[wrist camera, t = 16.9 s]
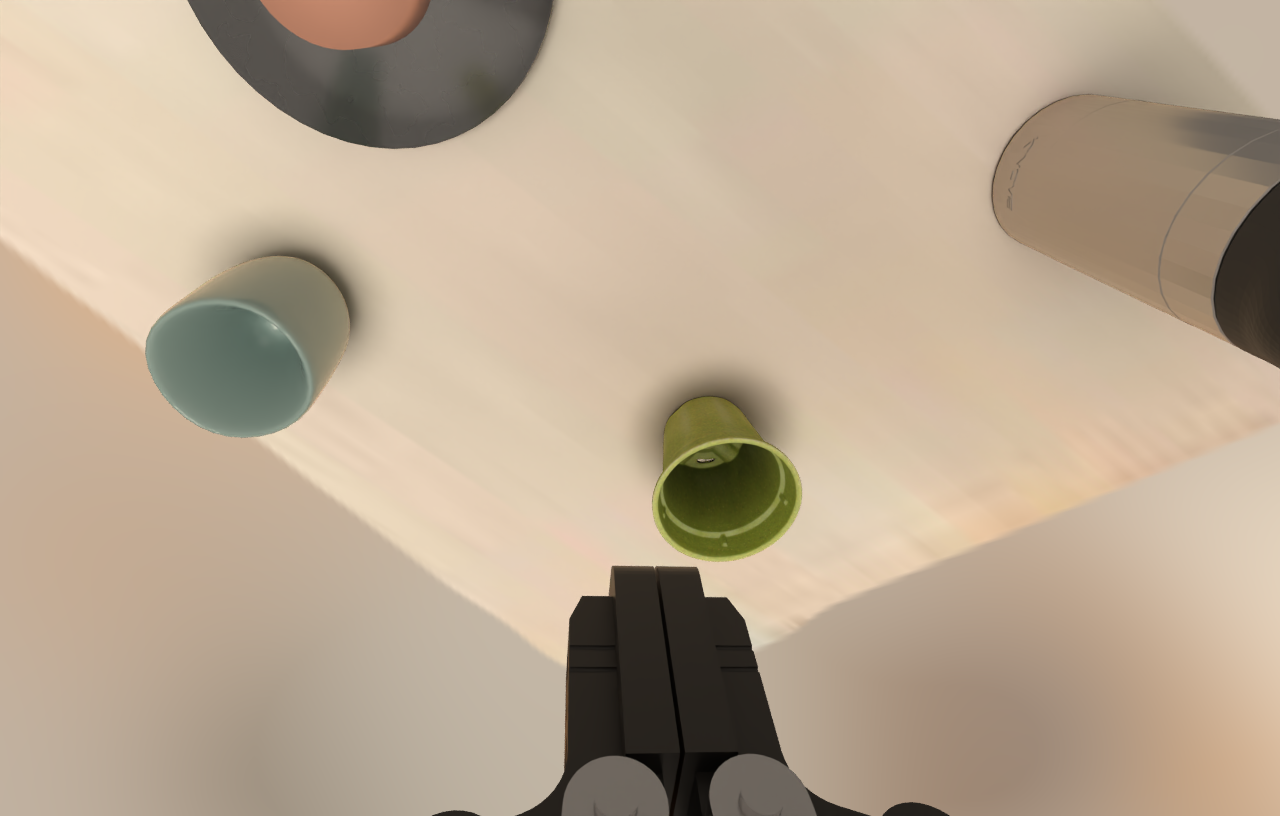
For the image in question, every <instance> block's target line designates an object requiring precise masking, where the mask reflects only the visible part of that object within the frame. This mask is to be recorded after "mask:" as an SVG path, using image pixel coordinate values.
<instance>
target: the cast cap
mask: <svg viewBox="0 0 1280 816" xmlns="http://www.w3.org/2000/svg"><path fill="white" fill-rule="evenodd" d="M260 1H261V2H262V4H263V5H264V6H265V7H266V8H267V10H268V11H269V12H270V13H271V14H272V15H273V16H274V17H275V18H276V19H277V20H278V21H279V22H280V23H281V24H282V25H283V26H284V27H286V28H287V29H288V30H289V31H291V32H292V33H294V34H295V35H297V36H298V37H300V38H302V39H304V40H306V41H308V42H310V43H313V44H315V45H318V46H321V47H325V48H330V49H337V50H353V49H362V48H370V47H378V46H384V45H389V44H392V43H394V42H397V41H399V40H401V39H402V38H404V37H406V36H407V35H408V34H410V33H411V32H412V31H413V30H414V29H415V28H416V27H417V26H418V25H419V23H420V22H421V20H422V19H423V17H424V15H425V13H426V11H427V9H428V6H429V3H430V0H260Z"/></svg>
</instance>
